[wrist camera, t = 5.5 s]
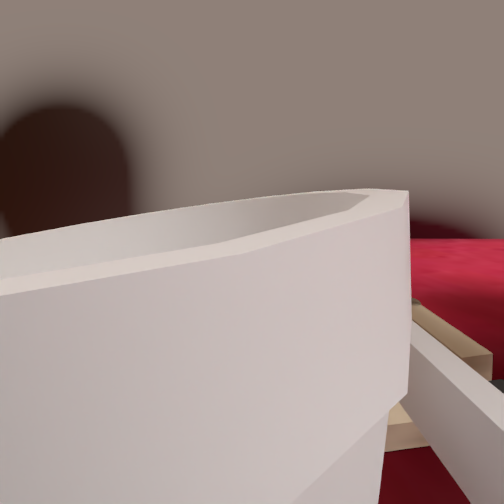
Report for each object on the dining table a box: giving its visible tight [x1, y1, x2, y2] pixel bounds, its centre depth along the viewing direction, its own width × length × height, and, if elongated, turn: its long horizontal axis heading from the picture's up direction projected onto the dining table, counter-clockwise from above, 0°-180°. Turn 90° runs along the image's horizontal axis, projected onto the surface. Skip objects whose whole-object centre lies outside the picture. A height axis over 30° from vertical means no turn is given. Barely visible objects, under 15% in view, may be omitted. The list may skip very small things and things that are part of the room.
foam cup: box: [0, 188, 412, 504], centre depth 8 cm, size 10×9×13 cm
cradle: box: [384, 298, 493, 452], centre depth 21 cm, size 16×15×4 cm
